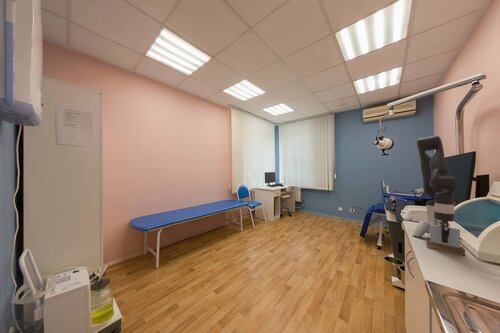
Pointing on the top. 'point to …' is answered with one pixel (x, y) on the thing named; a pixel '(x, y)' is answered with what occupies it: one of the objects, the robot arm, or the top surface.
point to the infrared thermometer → (421, 229)
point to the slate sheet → (453, 234)
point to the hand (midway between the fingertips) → (444, 241)
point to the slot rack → (446, 248)
